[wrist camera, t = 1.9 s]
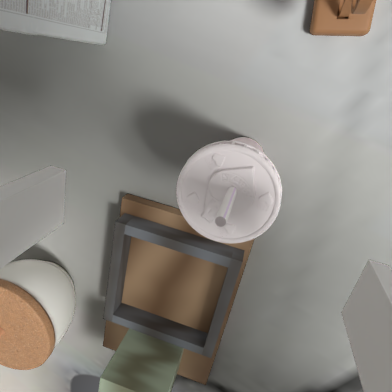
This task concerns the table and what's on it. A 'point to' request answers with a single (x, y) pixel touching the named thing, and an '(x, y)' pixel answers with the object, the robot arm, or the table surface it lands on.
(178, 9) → the table surface
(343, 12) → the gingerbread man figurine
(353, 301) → the robot arm
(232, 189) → the smoothie
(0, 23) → the supplement box
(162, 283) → the board
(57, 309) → the lidded jar
